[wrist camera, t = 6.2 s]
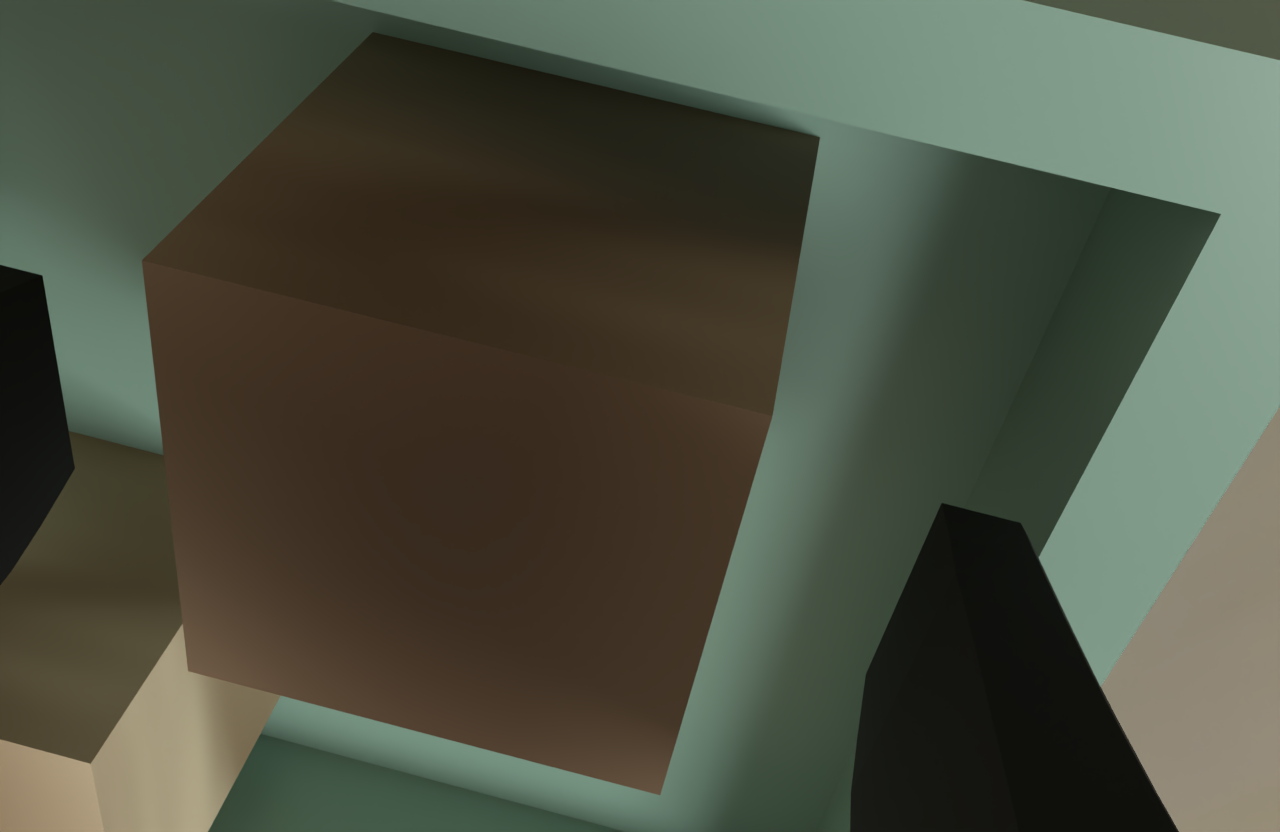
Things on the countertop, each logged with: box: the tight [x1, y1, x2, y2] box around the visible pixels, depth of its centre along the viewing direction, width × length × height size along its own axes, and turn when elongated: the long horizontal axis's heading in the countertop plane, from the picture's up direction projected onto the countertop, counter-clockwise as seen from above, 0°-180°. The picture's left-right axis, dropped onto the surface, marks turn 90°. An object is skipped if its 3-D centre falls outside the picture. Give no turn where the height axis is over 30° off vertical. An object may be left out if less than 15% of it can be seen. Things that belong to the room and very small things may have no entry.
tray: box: [0, 0, 1280, 832], centre depth 13 cm, size 14×14×3 cm
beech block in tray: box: [0, 431, 280, 832], centre depth 14 cm, size 4×4×4 cm
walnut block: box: [142, 32, 820, 795], centre depth 10 cm, size 4×4×4 cm
